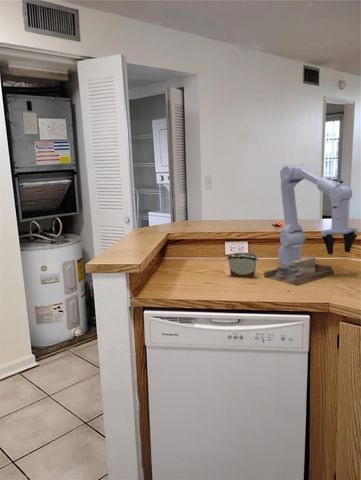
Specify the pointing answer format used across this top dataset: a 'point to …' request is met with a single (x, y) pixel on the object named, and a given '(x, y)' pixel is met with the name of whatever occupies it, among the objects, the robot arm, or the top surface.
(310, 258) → the grey rectangular block
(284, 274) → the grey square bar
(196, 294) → the top surface
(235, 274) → the food container
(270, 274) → the walnut tray
